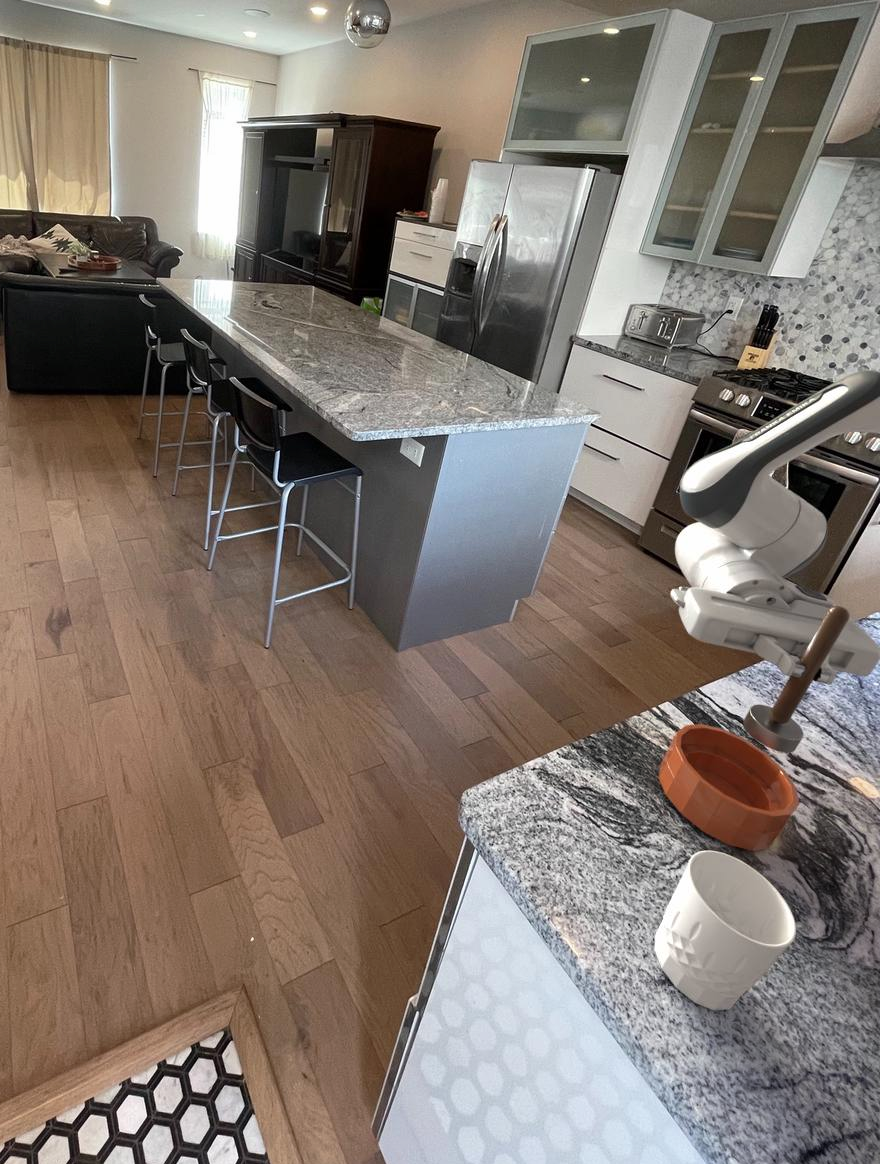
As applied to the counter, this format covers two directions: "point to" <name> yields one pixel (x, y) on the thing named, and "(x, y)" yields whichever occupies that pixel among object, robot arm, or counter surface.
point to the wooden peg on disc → (795, 689)
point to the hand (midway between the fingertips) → (811, 675)
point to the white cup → (722, 930)
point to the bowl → (727, 787)
